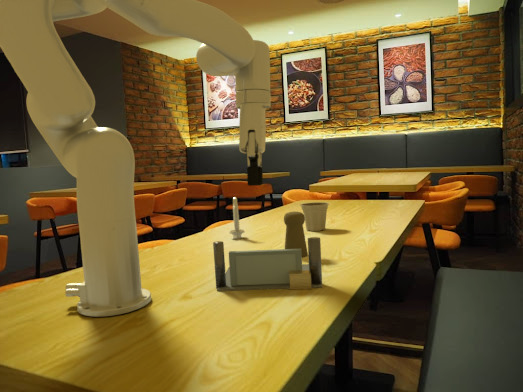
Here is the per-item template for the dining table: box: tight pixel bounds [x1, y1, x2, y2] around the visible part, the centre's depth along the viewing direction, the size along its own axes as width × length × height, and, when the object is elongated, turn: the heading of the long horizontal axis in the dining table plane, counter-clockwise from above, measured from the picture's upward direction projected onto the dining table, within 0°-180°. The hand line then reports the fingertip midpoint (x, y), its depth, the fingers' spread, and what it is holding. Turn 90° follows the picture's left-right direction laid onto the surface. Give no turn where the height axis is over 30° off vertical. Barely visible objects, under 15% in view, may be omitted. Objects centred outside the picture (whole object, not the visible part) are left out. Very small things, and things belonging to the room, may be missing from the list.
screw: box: [229, 196, 245, 240], centre depth 132 cm, size 13×5×5 cm
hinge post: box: [212, 240, 226, 289], centre depth 83 cm, size 2×2×9 cm
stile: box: [289, 236, 323, 291], centre depth 81 cm, size 6×4×9 cm, turn 86°
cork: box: [283, 211, 308, 259], centre depth 105 cm, size 6×6×11 cm
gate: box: [228, 248, 303, 286], centre depth 82 cm, size 14×1×6 cm, turn 86°
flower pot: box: [300, 201, 330, 232], centre depth 140 cm, size 9×9×9 cm
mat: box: [216, 263, 323, 292], centre depth 88 cm, size 20×16×1 cm
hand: (255, 185), depth 93 cm, fingers closed
